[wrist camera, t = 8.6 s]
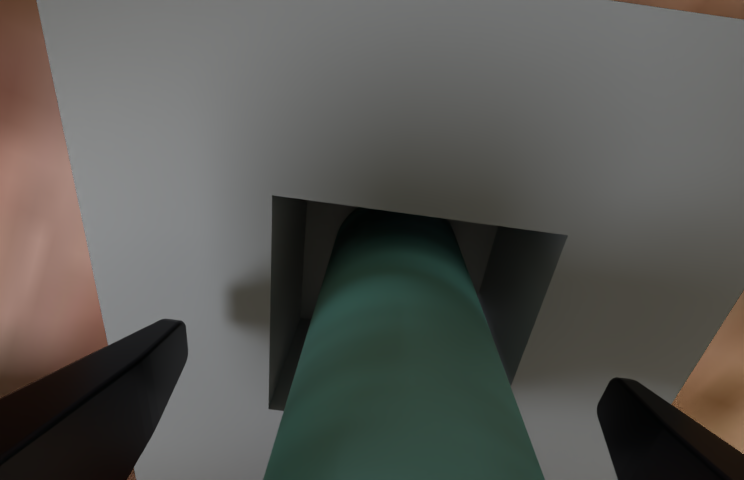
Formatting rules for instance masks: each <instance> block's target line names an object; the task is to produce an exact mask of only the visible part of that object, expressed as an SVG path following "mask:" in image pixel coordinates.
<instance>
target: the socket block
mask: <svg viewBox="0 0 744 480" xmlns="http://www.w3.org/2000/svg"><path fill="white" fill-rule="evenodd" d="M36 1H37V6H38V10H39V15H40V20H41V25H42V30H43V34H44V39H45V44H46V49H47V54H48V58H49V63H50V68H51V73H52V78H53V82H54V87H55V92H56V97H57V102H58V106H59V111H60V116H61V121H62V126H63V130H64V135H65V140H66V145H67V150H68V154H69V159H70V164H71V169H72V173H73V178H74V183H75V188H76V193H77V197H78V202H79V207H80V212H81V217H82V221H83V226H84V231H85V236H86V241H87V245H88V250H89V255H90V260H91V265H92V269H93V274H94V279H95V284H96V289H97V293H98V298H99V303H100V308H101V313H102V317H103V322H104V327H105V332H106V337H107V341H108V345H110V344H112V343H114V342H116V341H118V340H120V339H122V338H124V337H126V336H128V335H130V334H132V333H134V332H136V331H138V330H140V329H142V328H145V327H147V326H149V325H151V324H153V323H155V322H157V321H159V320H161V319H174V320H181V321H183V322H184V323H185V325H186V331H187V342H188V358H187V362H186V364H185V366H184V369H183V371H182V373H181V375H180V377H179V380H178V382H177V384H176V386H175V388H174V390H173V393H172V395H171V397H170V399H169V401H168V404H167V406H166V408H165V410H164V412H163V415H162V417H161V419H160V421H159V423H158V425H157V427H156V429H155V431H154V433H153V435H152V437H151V439H150V440H149V442H148V444H147V446H146V448H145V449H144V451H143V453H142V454H141V456H140V458H139V459H138V461H137V463H136V465H135V466H134V471H135V476H136V480H263V478H264V475H265V472H266V468H267V465H268V462H269V458H270V455H271V452H272V448H273V445H274V442H275V438H276V435H277V432H278V428H279V425H280V422H281V418H282V415H283V412H284V409H285V405H286V402H287V399H288V395H289V392H290V389H291V385H292V382H293V379H294V375H295V372H296V369H297V365H298V362H299V359H300V355H301V352H302V349H303V346H304V342H305V339H306V336H307V332H308V329H309V326H310V322H311V319H312V316H313V312H314V309H315V306H316V302H317V299H318V296H319V293H320V289H321V286H322V283H323V279H324V276H325V273H326V269H327V266H328V263H329V259H330V256H331V253H332V249H333V246H334V243H335V239H336V236H337V233H338V231H339V229H340V227H341V225H342V223H343V222H344V221H345V219H346V218H347V217H348V216H349V215H350V214H351V213H352V212H353V211H354V210H355V209H356V208H358V207H363V208H370V209H377V210H385V211H392V212H399V213H407V214H414V215H422V216H429V217H436V218H444V219H447V221H448V222H449V224H450V225H451V227H452V230H453V232H454V234H455V237H456V240H457V242H458V245H459V248H460V250H461V253H462V256H463V259H464V261H465V264H466V267H467V269H468V272H469V275H470V277H471V280H472V283H473V286H474V288H475V291H476V294H477V296H478V299H479V302H480V305H481V307H482V310H483V313H484V315H485V318H486V321H487V324H488V326H489V329H490V332H491V334H492V337H493V340H494V343H495V345H496V348H497V351H498V353H499V356H500V359H501V362H502V364H503V367H504V370H505V372H506V375H507V378H508V381H509V383H510V386H511V389H512V391H513V394H514V397H515V400H516V402H517V405H518V408H519V410H520V413H521V416H522V419H523V421H524V424H525V427H526V429H527V432H528V435H529V438H530V440H531V443H532V446H533V448H534V451H535V454H536V457H537V459H538V462H539V465H540V467H541V470H542V473H543V476H544V478H545V480H618V479H617V476H616V473H615V470H614V467H613V464H612V460H611V457H610V454H609V451H608V448H607V445H606V442H605V439H604V436H603V432H602V429H601V426H600V423H599V420H598V417H597V404H598V402H599V400H600V398H601V396H602V394H603V393H604V391H605V389H606V387H607V385H608V383H609V381H610V380H611V379H612V378H615V377H620V378H628V379H633V380H636V381H638V382H639V383H641V384H642V385H644V386H645V387H647V388H648V389H649V390H651V391H652V392H654V393H655V394H657V395H658V396H660V397H661V398H662V399H664V400H665V401H667V402H668V403H670V404H672V402H673V401H674V399H675V398H676V396H677V394H678V393H679V391H680V390H681V388H682V387H683V385H684V383H685V382H686V380H687V379H688V377H689V375H690V374H691V372H692V371H693V369H694V368H695V366H696V364H697V363H698V361H699V360H700V358H701V357H702V355H703V353H704V352H705V350H706V349H707V347H708V346H709V344H710V342H711V341H712V339H713V338H714V336H715V334H716V333H717V331H718V330H719V328H720V327H721V325H722V323H723V322H724V320H725V319H726V317H727V316H728V314H729V312H730V311H731V309H732V308H733V306H734V305H735V303H736V301H737V300H738V298H739V297H740V295H741V294H742V292H743V290H744V20H743V19H736V18H729V17H722V16H715V15H708V14H701V13H694V12H687V11H680V10H673V9H667V8H660V7H653V6H646V5H639V4H632V3H625V2H618V1H611V0H36Z"/></svg>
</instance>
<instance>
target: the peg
mask: <svg viewBox="0 0 744 480" xmlns="http://www.w3.org/2000/svg"><path fill="white" fill-rule="evenodd" d="M263 480H545V478H544V476H543V473H542V470H541V467H540V465H539V462H538V459H537V457H536V454H535V451H534V448H533V446H532V443H531V440H530V438H529V435H528V432H527V429H526V427H525V424H524V421H523V419H522V416H521V413H520V410H519V408H518V405H517V402H516V400H515V397H514V394H513V391H512V389H511V386H510V383H509V381H508V378H507V375H506V372H505V370H504V367H503V364H502V362H501V359H500V356H499V353H498V351H497V348H496V345H495V343H494V340H493V337H492V334H491V332H490V329H489V326H488V324H487V321H486V318H485V315H484V313H483V310H482V307H481V305H480V302H479V299H478V296H477V294H476V291H475V288H474V286H473V283H472V280H471V277H470V275H469V272H468V269H467V267H466V264H465V261H464V259H463V256H462V253H461V250H460V248H459V245H458V242H457V240H456V237H455V234H454V232H453V230H452V227H451V225H450V224H449V222H448V221H447V219H444V218H436V217H429V216H422V215H414V214H407V213H399V212H392V211H385V210H377V209H370V208H363V207H358V208H356V209H355V210H354V211H353V212H352V213H351V214H350V215H349V216H348V217H347V218H346V219H345V221H344V222H343V223H342V225H341V227H340V229H339V231H338V233H337V236H336V239H335V243H334V246H333V249H332V253H331V256H330V259H329V263H328V266H327V269H326V273H325V276H324V279H323V283H322V286H321V289H320V293H319V296H318V299H317V302H316V306H315V309H314V312H313V316H312V319H311V322H310V326H309V329H308V332H307V336H306V339H305V342H304V346H303V349H302V352H301V355H300V359H299V362H298V365H297V369H296V372H295V375H294V379H293V382H292V385H291V389H290V392H289V395H288V399H287V402H286V405H285V409H284V412H283V415H282V418H281V422H280V425H279V428H278V432H277V435H276V438H275V442H274V445H273V448H272V452H271V455H270V458H269V462H268V465H267V468H266V472H265V475H264V478H263Z"/></svg>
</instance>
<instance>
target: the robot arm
mask: <svg viewBox="0 0 744 480" xmlns="http://www.w3.org/2000/svg"><path fill="white" fill-rule="evenodd" d="M187 358H188V342H187V331H186V325H185V323H184V322H183V321H181V320H174V319H161V320H159V321H157V322H155V323H153V324H151V325H149V326H147V327H145V328H142V329H140V330H138V331H136V332H134V333H132V334H130V335H128V336H126V337H124V338H122V339H120V340H118V341H116V342H114V343H112V344H110V345H108V346H106V347H104V348H102V349H100V350H98V351H96V352H94V353H92V354H90V355H88V356H86V357H83V358H81V359H79V360H77V361H75V362H73V363H71V364H69V365H67V366H65V367H63V368H61V369H59V370H57V371H55V372H53V373H51V374H49V375H47V376H45V377H43V378H41V379H39V380H37V381H35V382H33V383H31V384H29V385H27V386H24V387H22V388H20V389H18V390H16V391H14V392H12V393H10V394H8V395H6V396H4V397H2V398H0V480H127V478H128V476H129V475H130V473H131V471H132V470H133V468H134V466H135V465H136V463H137V461H138V459H139V458H140V456H141V454H142V453H143V451H144V449H145V448H146V446H147V444H148V442H149V440H150V439H151V437H152V435H153V433H154V431H155V429H156V427H157V425H158V423H159V421H160V419H161V417H162V415H163V412H164V410H165V408H166V406H167V404H168V401H169V399H170V397H171V395H172V393H173V390H174V388H175V386H176V384H177V382H178V380H179V377H180V375H181V373H182V371H183V369H184V366H185V364H186V362H187ZM597 417H598V420H599V423H600V426H601V429H602V432H603V436H604V439H605V442H606V445H607V448H608V451H609V454H610V457H611V460H612V464H613V467H614V470H615V473H616V476H617V479H618V480H744V454H742V453H741V452H739V451H738V450H737V449H735V448H734V447H732V446H731V445H729V444H728V443H726V442H725V441H723V440H722V439H721V438H719V437H718V436H716V435H715V434H713V433H712V432H710V431H709V430H707V429H706V428H705V427H703V426H702V425H700V424H699V423H697V422H696V421H694V420H693V419H692V418H690V417H689V416H687V415H686V414H684V413H683V412H681V411H680V410H678V409H677V408H676V407H674V406H673V405H671V404H670V403H668V402H667V401H665V400H664V399H662V398H661V397H660V396H658V395H657V394H655V393H654V392H652V391H651V390H649V389H648V388H647V387H645V386H644V385H642V384H641V383H639V382H638V381H636V380H633V379H628V378H620V377H615V378H612V379H611V380H610V381H609V383H608V385H607V387H606V389H605V391H604V393H603V394H602V396H601V398H600V400H599V402H598V404H597Z"/></svg>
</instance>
